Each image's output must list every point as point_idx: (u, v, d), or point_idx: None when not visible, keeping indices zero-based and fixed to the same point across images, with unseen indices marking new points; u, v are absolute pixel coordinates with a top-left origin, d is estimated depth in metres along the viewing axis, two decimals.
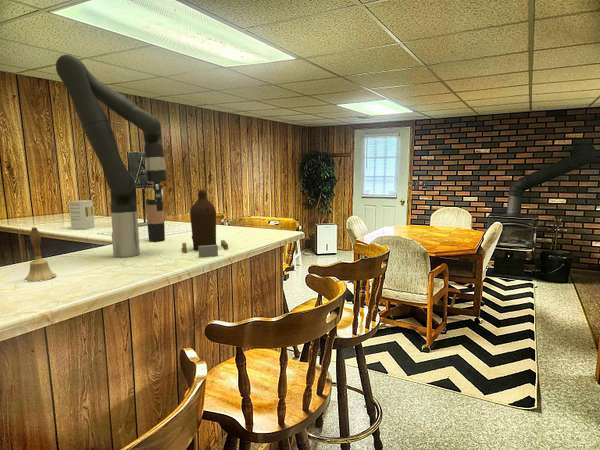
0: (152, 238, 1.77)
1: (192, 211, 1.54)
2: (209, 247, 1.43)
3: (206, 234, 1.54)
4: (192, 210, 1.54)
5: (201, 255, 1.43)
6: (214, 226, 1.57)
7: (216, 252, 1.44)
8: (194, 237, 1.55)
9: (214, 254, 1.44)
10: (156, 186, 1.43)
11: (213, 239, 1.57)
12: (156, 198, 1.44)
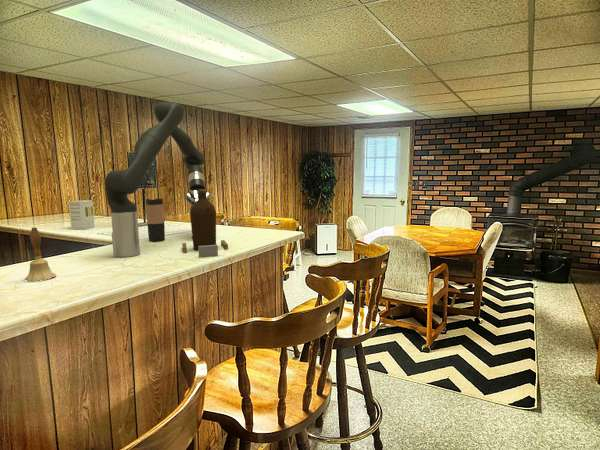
0: (152, 238, 1.77)
1: (192, 211, 1.54)
2: (209, 247, 1.43)
3: (206, 234, 1.54)
4: (192, 210, 1.54)
5: (201, 255, 1.43)
6: (214, 226, 1.57)
7: (216, 252, 1.44)
8: (194, 237, 1.55)
9: (214, 254, 1.44)
10: (210, 195, 1.82)
11: (213, 239, 1.57)
12: None
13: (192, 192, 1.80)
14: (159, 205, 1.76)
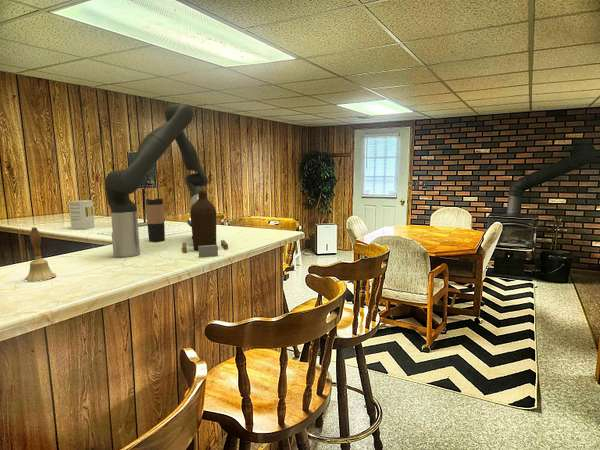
0: (152, 238, 1.77)
1: (192, 211, 1.53)
2: (209, 247, 1.43)
3: (206, 235, 1.54)
4: (192, 210, 1.53)
5: (201, 255, 1.43)
6: (214, 226, 1.56)
7: (216, 252, 1.44)
8: (194, 237, 1.55)
9: (214, 254, 1.44)
10: None
11: (213, 239, 1.56)
12: None
13: None
14: (159, 205, 1.76)
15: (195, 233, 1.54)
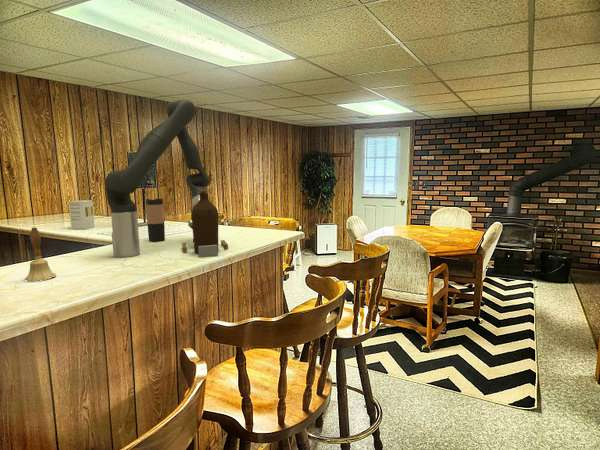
0: (152, 238, 1.77)
1: (193, 212, 1.47)
2: (209, 247, 1.43)
3: (208, 237, 1.47)
4: (193, 212, 1.47)
5: (201, 255, 1.43)
6: (216, 228, 1.50)
7: (216, 252, 1.44)
8: (195, 240, 1.48)
9: (214, 254, 1.44)
10: None
11: (215, 242, 1.50)
12: None
13: None
14: (159, 205, 1.76)
15: (196, 236, 1.47)
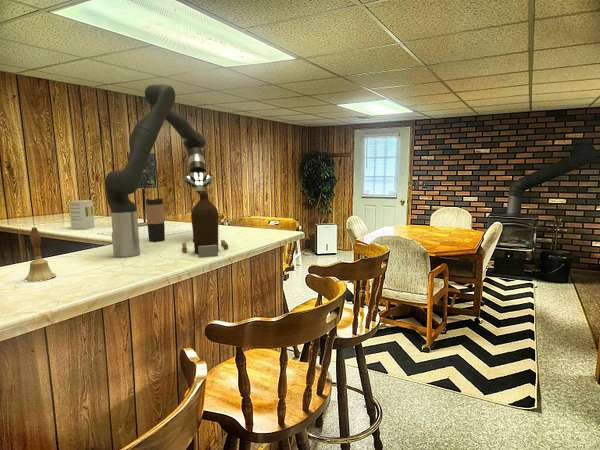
0: (152, 238, 1.77)
1: (193, 212, 1.47)
2: (209, 247, 1.43)
3: (208, 237, 1.47)
4: (193, 212, 1.47)
5: (201, 255, 1.43)
6: (216, 228, 1.50)
7: (216, 252, 1.44)
8: (195, 240, 1.48)
9: (214, 254, 1.44)
10: (211, 179, 1.74)
11: (215, 242, 1.50)
12: None
13: (192, 175, 1.72)
14: (159, 205, 1.76)
15: (196, 236, 1.47)
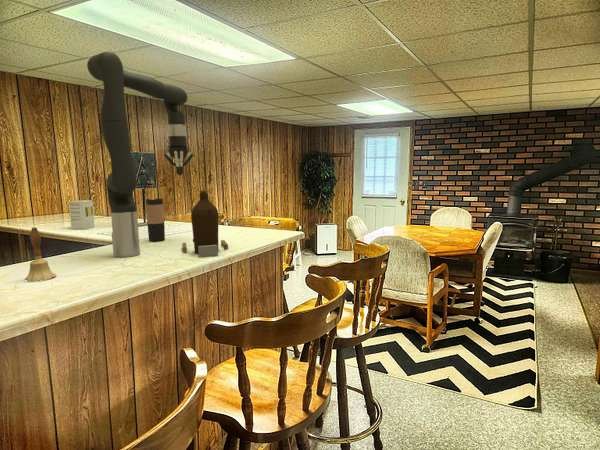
0: (152, 238, 1.77)
1: (193, 212, 1.47)
2: (209, 247, 1.43)
3: (208, 237, 1.47)
4: (193, 212, 1.47)
5: (201, 255, 1.43)
6: (216, 228, 1.50)
7: (216, 252, 1.44)
8: (195, 240, 1.48)
9: (214, 254, 1.44)
10: (192, 156, 1.69)
11: (215, 242, 1.50)
12: None
13: (172, 152, 1.66)
14: (159, 205, 1.76)
15: (196, 236, 1.47)
